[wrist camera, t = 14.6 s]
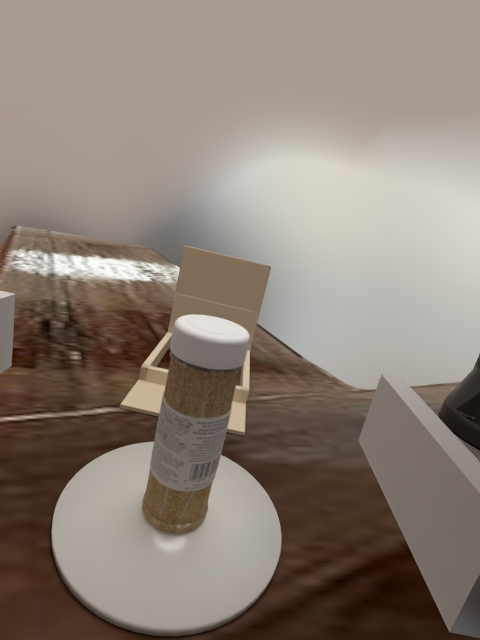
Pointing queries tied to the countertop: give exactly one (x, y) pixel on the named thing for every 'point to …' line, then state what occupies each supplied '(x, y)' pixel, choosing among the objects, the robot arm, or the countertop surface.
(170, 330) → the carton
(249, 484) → the stone mat
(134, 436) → the countertop surface
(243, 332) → the spice jar
